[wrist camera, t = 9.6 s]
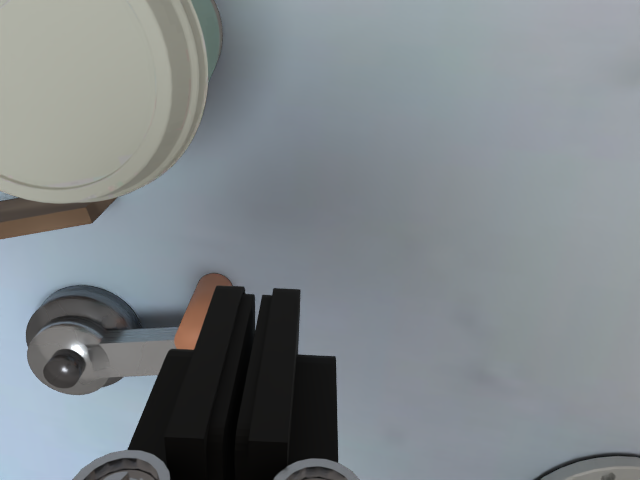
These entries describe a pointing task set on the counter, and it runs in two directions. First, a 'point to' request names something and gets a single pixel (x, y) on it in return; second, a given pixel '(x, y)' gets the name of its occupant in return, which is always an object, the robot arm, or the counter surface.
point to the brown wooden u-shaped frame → (45, 216)
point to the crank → (94, 353)
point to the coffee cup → (100, 93)
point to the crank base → (85, 311)
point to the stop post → (198, 310)
